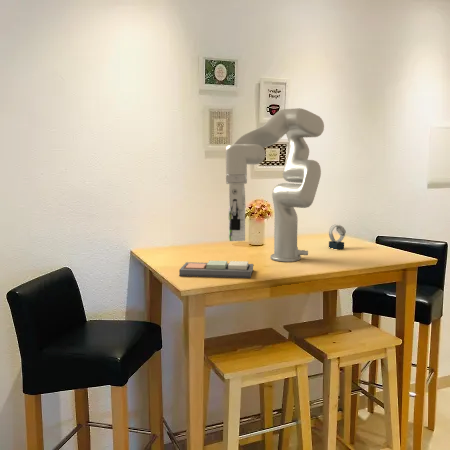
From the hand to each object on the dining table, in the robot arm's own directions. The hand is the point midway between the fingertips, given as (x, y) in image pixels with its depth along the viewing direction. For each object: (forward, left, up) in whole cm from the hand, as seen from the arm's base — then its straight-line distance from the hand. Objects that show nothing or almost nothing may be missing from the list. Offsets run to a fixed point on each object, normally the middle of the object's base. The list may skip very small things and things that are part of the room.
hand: (237, 227), depth 182 cm
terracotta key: (+16, 0, -16) cm, 22 cm away
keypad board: (+8, 0, -17) cm, 19 cm away
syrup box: (0, 0, -5) cm, 5 cm away
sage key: (+8, 0, -15) cm, 17 cm away
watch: (-40, -51, -17) cm, 67 cm away
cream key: (0, 0, -15) cm, 15 cm away
